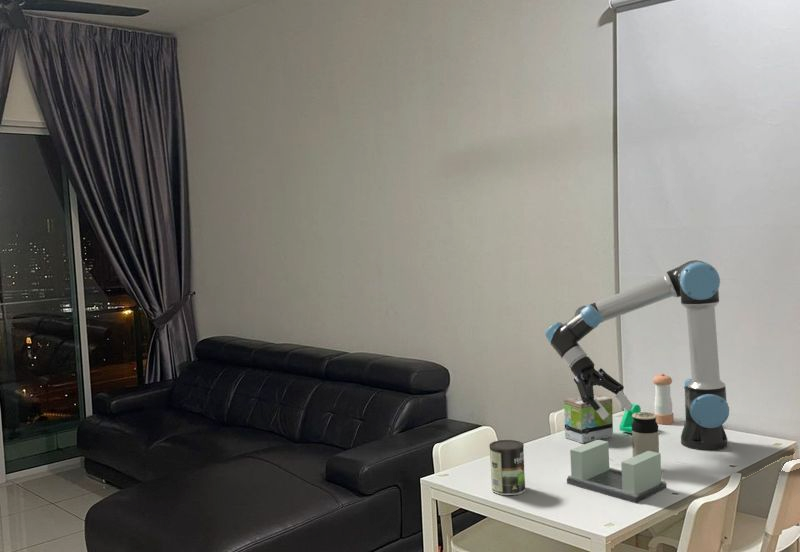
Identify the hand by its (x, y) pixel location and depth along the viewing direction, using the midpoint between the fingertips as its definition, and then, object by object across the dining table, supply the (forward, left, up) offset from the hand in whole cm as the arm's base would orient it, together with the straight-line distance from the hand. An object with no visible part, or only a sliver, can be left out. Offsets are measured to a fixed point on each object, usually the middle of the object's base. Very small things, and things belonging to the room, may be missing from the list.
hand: (618, 413), depth 239 cm
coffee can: (+40, +14, -17) cm, 46 cm away
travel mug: (-6, +7, -17) cm, 20 cm away
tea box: (-1, -32, -17) cm, 37 cm away
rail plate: (+8, +18, -17) cm, 26 cm away
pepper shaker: (-35, -44, -17) cm, 59 cm away
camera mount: (-20, -35, -18) cm, 44 cm away
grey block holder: (+8, +18, -16) cm, 25 cm away
